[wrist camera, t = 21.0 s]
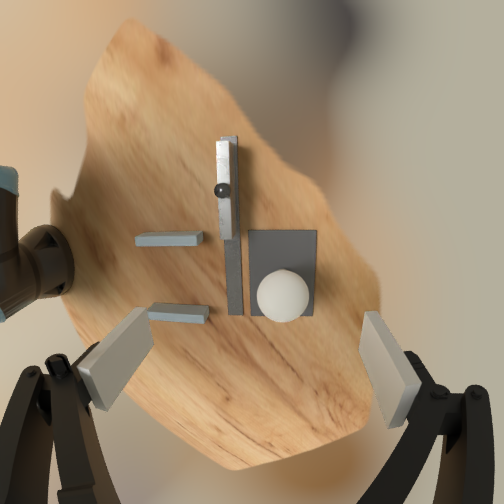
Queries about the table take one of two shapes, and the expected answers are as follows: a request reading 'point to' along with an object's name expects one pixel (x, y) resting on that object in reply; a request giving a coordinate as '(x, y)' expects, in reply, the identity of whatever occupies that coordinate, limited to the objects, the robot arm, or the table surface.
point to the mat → (281, 259)
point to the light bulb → (282, 296)
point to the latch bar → (226, 189)
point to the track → (234, 252)
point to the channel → (164, 309)
